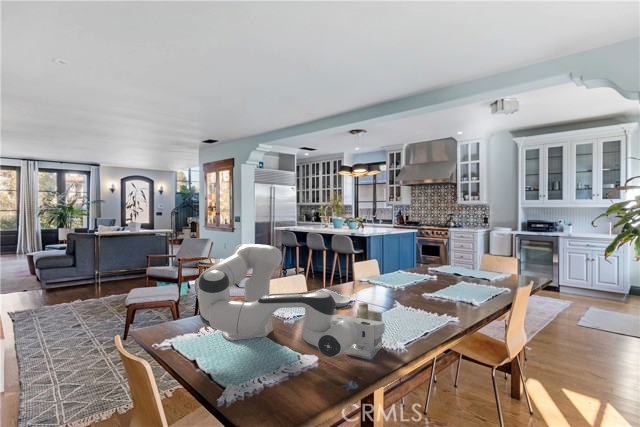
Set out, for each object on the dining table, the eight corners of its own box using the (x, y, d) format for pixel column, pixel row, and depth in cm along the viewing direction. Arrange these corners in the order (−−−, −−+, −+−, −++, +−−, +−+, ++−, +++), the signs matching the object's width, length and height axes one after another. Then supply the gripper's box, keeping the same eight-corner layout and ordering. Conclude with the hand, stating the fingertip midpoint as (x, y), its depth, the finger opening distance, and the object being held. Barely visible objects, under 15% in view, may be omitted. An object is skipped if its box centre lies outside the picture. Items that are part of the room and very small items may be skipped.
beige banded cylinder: (362, 342, 129) (362, 305, 129) (356, 339, 132) (356, 303, 132) (370, 340, 131) (370, 304, 130) (364, 337, 134) (364, 302, 134)
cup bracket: (370, 360, 124) (370, 321, 124) (345, 354, 129) (345, 317, 129) (382, 347, 135) (382, 312, 135) (358, 342, 140) (358, 308, 140)
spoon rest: (354, 306, 192) (354, 293, 192) (339, 310, 184) (339, 297, 183) (324, 297, 209) (324, 286, 209) (310, 301, 201) (310, 289, 200)
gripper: (323, 333, 125) (340, 322, 137) (376, 344, 115) (389, 331, 127) (323, 316, 125) (340, 306, 137) (376, 326, 115) (389, 314, 127)
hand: (364, 318), depth 132 cm, fingers closed on beige banded cylinder, 3 cm apart
